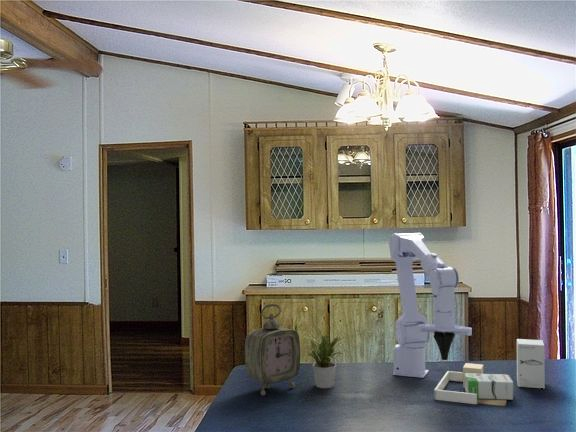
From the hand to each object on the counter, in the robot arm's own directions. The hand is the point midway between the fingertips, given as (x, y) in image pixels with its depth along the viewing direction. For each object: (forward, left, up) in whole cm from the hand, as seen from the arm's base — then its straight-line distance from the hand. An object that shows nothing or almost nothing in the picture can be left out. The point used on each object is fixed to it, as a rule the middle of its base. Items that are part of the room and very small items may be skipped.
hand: (444, 359), depth 170 cm
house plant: (-33, -6, -10) cm, 35 cm away
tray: (+3, +3, -10) cm, 11 cm away
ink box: (+5, 0, -7) cm, 9 cm away
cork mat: (+11, 0, -10) cm, 15 cm away
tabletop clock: (-47, -15, -10) cm, 50 cm away
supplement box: (+21, +17, -10) cm, 29 cm away
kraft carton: (+6, +9, -10) cm, 15 cm away
